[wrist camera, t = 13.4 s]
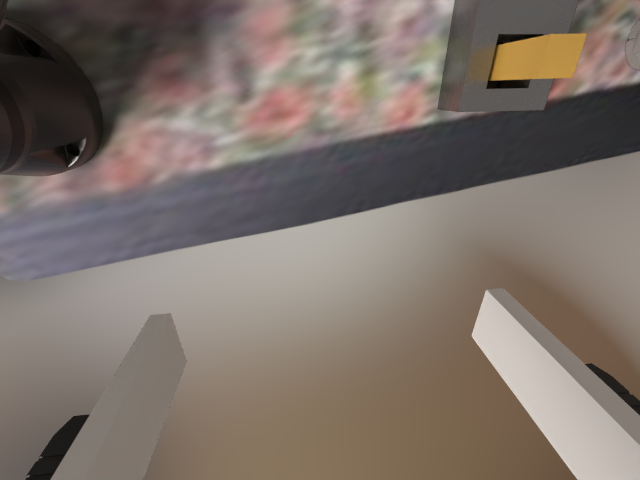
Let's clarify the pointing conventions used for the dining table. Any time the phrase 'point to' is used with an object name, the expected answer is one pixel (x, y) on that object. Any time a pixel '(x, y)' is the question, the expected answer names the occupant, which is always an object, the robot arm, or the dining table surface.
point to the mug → (633, 47)
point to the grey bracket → (479, 46)
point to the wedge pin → (537, 58)
